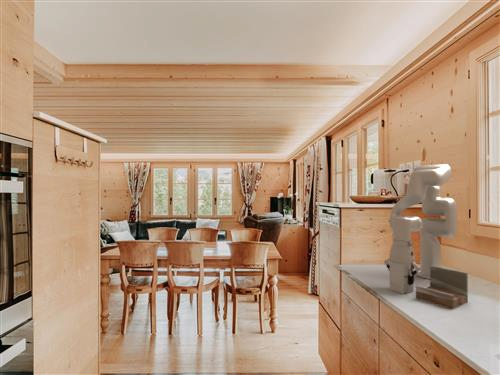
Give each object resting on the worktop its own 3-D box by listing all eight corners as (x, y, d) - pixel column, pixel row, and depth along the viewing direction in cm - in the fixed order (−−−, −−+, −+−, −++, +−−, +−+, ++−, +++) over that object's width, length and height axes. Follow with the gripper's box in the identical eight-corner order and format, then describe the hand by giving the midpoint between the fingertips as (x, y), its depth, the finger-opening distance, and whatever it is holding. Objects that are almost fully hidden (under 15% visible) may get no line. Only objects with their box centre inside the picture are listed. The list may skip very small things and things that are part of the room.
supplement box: (403, 294, 135) (403, 265, 135) (389, 289, 141) (389, 262, 141) (414, 291, 138) (414, 263, 138) (399, 287, 145) (399, 260, 145)
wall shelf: (431, 292, 137) (431, 265, 137) (467, 301, 126) (467, 272, 126) (415, 298, 129) (415, 269, 129) (452, 308, 118) (452, 277, 118)
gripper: (425, 245, 135) (425, 285, 135) (388, 240, 149) (388, 276, 149) (416, 247, 131) (416, 288, 130) (379, 241, 145) (379, 278, 145)
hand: (401, 281), depth 140 cm, fingers closed on supplement box, 7 cm apart
